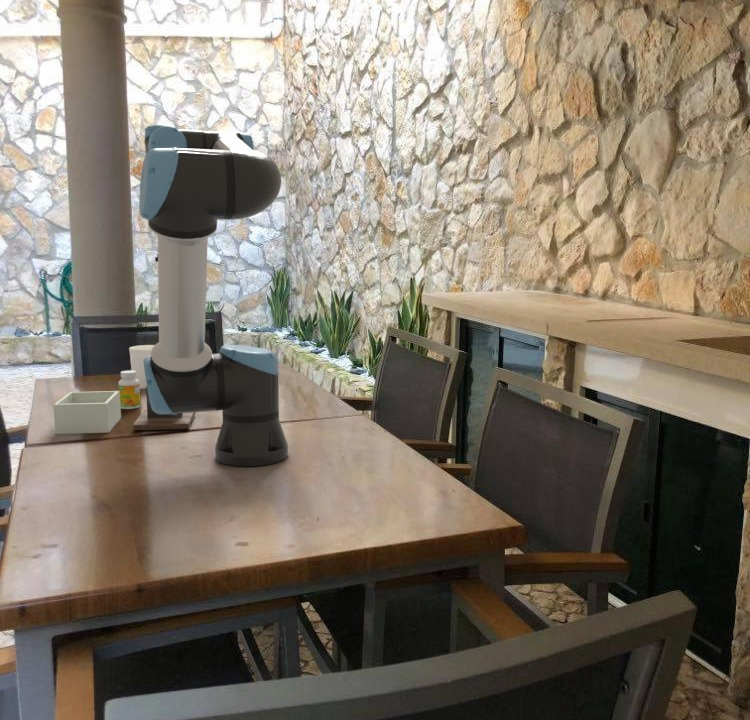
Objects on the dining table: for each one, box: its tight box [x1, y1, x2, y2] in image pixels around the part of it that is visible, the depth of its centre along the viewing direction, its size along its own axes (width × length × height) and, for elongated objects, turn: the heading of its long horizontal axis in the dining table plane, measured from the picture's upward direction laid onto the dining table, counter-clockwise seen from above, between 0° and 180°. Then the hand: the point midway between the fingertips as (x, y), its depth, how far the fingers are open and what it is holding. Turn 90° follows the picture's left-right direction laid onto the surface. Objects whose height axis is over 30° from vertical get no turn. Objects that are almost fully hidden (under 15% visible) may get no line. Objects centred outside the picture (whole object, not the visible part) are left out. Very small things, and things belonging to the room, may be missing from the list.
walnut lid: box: [132, 386, 196, 432], centre depth 183 cm, size 15×13×10 cm
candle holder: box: [128, 344, 156, 390], centre depth 228 cm, size 10×10×12 cm
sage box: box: [53, 390, 122, 435], centre depth 181 cm, size 14×12×7 cm
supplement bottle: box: [117, 369, 141, 410], centre depth 200 cm, size 5×5×10 cm
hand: (168, 290), depth 174 cm, fingers open, 13 cm apart
